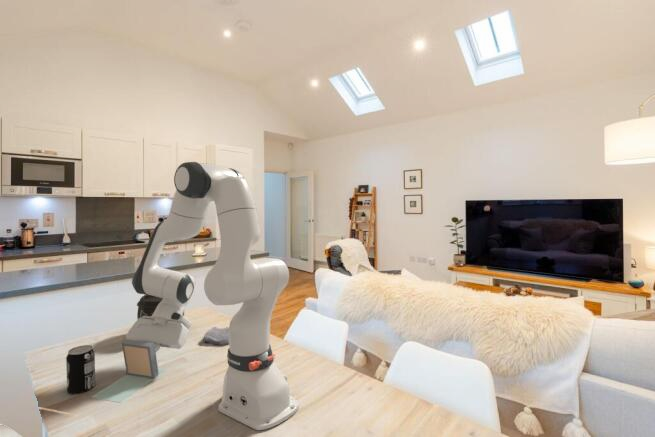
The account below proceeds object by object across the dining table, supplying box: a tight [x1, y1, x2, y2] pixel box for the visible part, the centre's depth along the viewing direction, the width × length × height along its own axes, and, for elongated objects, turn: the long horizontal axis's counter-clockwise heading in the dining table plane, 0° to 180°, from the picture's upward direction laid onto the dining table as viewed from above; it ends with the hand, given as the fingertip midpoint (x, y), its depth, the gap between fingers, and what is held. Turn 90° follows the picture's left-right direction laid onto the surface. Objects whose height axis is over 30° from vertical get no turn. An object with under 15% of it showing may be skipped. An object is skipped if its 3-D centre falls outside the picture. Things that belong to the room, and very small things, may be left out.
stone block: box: [203, 326, 229, 346], centre depth 132 cm, size 12×5×10 cm
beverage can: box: [65, 344, 96, 395], centre depth 96 cm, size 7×7×12 cm
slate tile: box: [121, 339, 160, 380], centre depth 102 cm, size 2×10×11 cm, turn 77°
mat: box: [90, 368, 167, 403], centre depth 99 cm, size 10×18×1 cm, turn 167°
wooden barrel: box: [136, 294, 185, 321], centre depth 137 cm, size 18×18×16 cm
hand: (144, 358), depth 104 cm, fingers closed
